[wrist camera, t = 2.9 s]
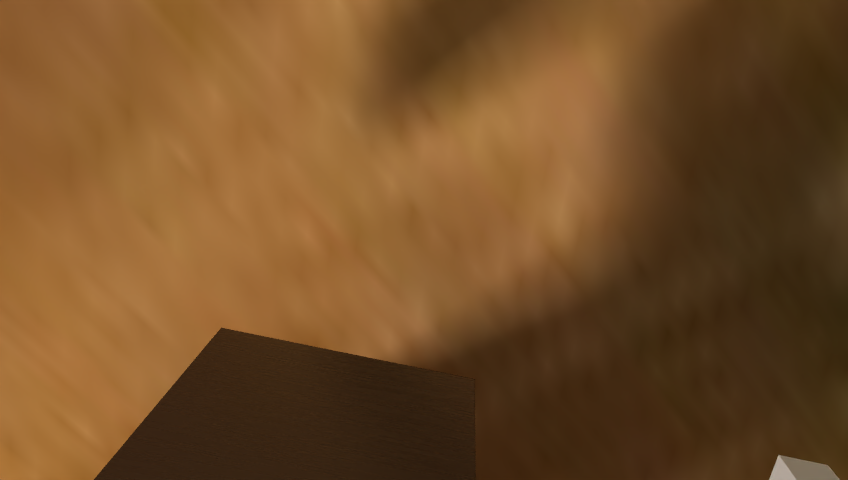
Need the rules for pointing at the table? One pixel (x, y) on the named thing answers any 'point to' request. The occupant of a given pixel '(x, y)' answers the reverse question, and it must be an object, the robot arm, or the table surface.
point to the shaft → (302, 419)
